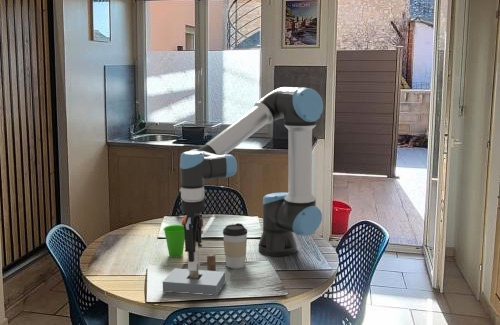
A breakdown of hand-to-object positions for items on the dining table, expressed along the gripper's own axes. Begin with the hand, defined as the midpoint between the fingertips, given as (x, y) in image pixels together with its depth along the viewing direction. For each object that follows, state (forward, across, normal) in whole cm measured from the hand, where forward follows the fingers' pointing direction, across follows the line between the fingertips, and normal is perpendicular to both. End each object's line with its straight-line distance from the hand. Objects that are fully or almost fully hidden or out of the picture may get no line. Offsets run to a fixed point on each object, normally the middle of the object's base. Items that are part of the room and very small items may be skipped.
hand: (194, 268), depth 180 cm
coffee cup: (+7, -22, +9) cm, 25 cm away
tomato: (+7, -60, -19) cm, 63 cm away
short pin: (+6, -14, +2) cm, 16 cm away
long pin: (+5, 0, 0) cm, 5 cm away
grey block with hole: (+7, 0, 0) cm, 7 cm away
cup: (+7, -28, -16) cm, 33 cm away
